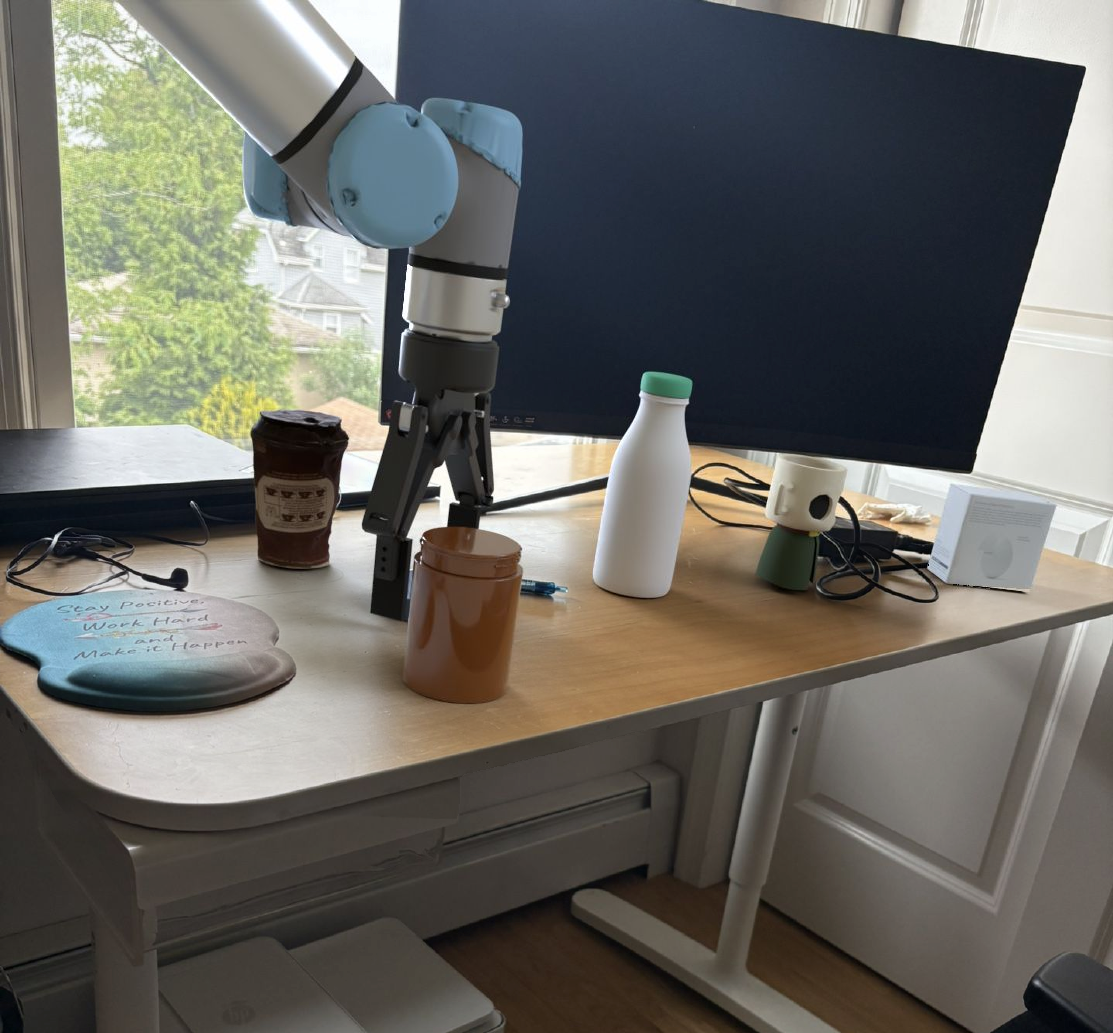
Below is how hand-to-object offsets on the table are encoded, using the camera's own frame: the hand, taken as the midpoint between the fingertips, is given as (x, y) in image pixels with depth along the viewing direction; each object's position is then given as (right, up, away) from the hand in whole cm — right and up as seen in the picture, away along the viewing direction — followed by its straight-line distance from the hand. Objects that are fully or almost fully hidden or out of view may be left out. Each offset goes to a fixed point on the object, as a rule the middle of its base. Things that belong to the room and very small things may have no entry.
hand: (424, 596), depth 96 cm
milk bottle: (+18, +3, +15) cm, 24 cm away
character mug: (+35, +4, +23) cm, 42 cm away
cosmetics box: (+60, +6, +38) cm, 72 cm away
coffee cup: (-13, +4, +7) cm, 15 cm away
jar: (+4, -8, -13) cm, 16 cm away
